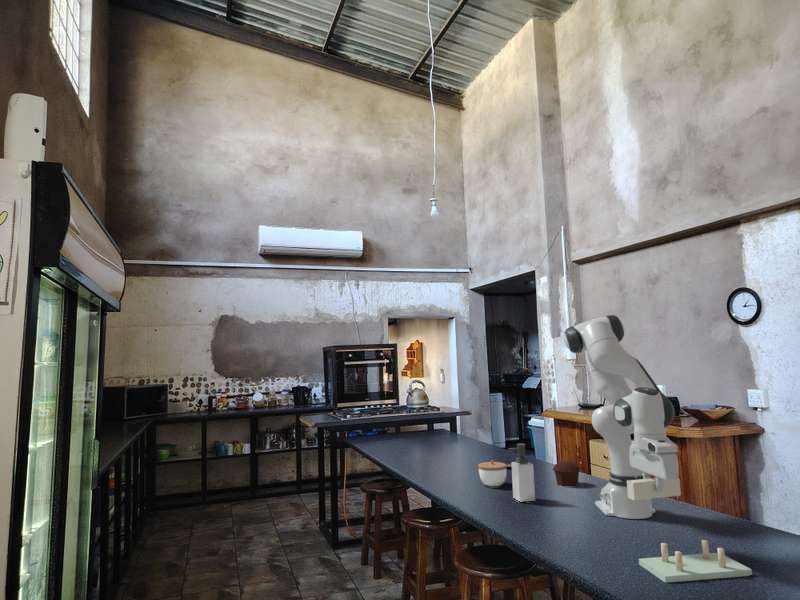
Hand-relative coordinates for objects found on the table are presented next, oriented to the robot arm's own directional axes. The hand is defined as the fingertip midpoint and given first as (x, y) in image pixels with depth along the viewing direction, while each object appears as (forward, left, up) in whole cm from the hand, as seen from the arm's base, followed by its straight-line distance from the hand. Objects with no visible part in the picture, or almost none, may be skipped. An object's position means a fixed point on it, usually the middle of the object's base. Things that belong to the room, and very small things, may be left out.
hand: (654, 489), depth 159 cm
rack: (+16, 0, -17) cm, 23 cm away
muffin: (-78, +6, -17) cm, 80 cm away
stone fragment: (-117, -10, -18) cm, 119 cm away
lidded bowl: (-84, -26, -17) cm, 90 cm away
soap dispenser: (-58, -22, -17) cm, 64 cm away
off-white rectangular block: (0, 0, -2) cm, 2 cm away
